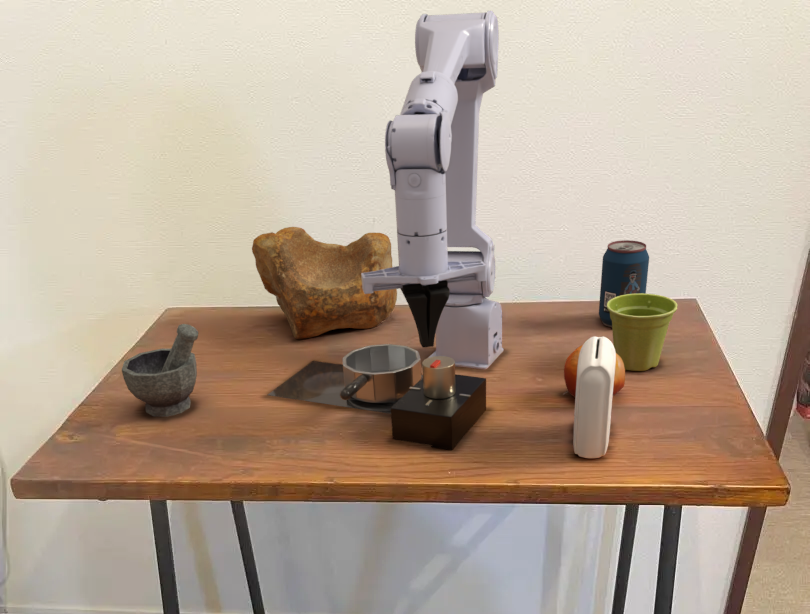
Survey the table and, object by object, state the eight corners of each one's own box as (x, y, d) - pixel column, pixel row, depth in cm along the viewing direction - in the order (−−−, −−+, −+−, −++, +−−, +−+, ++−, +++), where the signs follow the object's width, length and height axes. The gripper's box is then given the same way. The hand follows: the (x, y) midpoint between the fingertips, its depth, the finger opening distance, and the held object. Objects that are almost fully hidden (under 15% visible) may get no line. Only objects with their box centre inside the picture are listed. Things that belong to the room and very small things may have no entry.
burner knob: (431, 384, 111) (429, 352, 109) (460, 387, 110) (459, 355, 108) (418, 396, 108) (416, 363, 106) (448, 400, 107) (447, 367, 105)
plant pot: (672, 377, 120) (679, 316, 115) (601, 375, 122) (606, 315, 117) (668, 352, 128) (675, 293, 123) (603, 350, 129) (607, 292, 125)
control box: (429, 401, 118) (428, 369, 115) (487, 410, 115) (487, 376, 112) (391, 440, 109) (389, 406, 106) (452, 450, 106) (451, 415, 103)
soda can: (615, 311, 143) (621, 236, 136) (651, 320, 139) (659, 243, 132) (589, 323, 139) (594, 246, 133) (625, 333, 135) (632, 254, 128)
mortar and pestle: (121, 422, 118) (99, 337, 111) (149, 393, 125) (130, 312, 119) (199, 425, 116) (182, 338, 109) (223, 395, 123) (208, 312, 117)
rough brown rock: (242, 351, 139) (228, 259, 130) (267, 308, 152) (255, 221, 143) (387, 355, 137) (382, 261, 127) (399, 310, 150) (396, 222, 140)
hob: (267, 396, 122) (267, 394, 122) (313, 362, 132) (313, 360, 132) (403, 417, 114) (403, 415, 114) (441, 379, 124) (441, 377, 124)
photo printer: (575, 420, 111) (581, 326, 104) (610, 422, 110) (618, 327, 103) (570, 459, 102) (575, 359, 96) (607, 461, 102) (615, 360, 95)
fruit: (574, 366, 121) (603, 325, 115) (613, 407, 119) (644, 367, 113) (538, 385, 117) (566, 343, 110) (578, 427, 115) (608, 387, 108)
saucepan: (366, 371, 127) (364, 340, 124) (433, 380, 123) (431, 348, 120) (310, 418, 115) (306, 385, 112) (382, 430, 111) (379, 396, 108)
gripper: (363, 245, 95) (372, 362, 103) (492, 232, 97) (492, 349, 104) (355, 229, 101) (364, 342, 109) (477, 217, 103) (478, 329, 110)
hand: (426, 344), depth 107 cm, fingers closed
